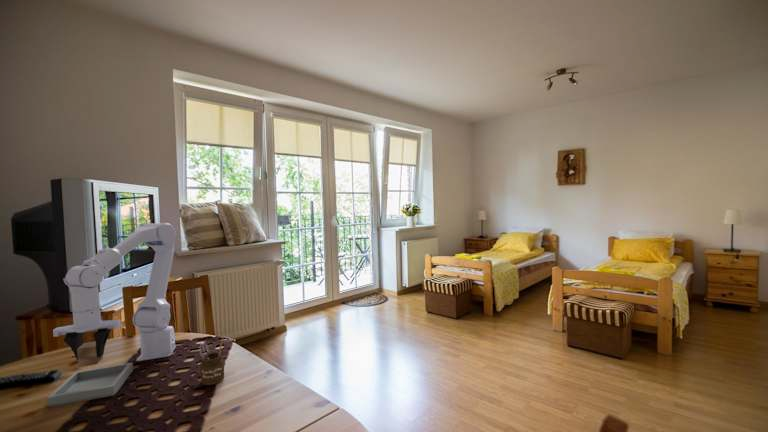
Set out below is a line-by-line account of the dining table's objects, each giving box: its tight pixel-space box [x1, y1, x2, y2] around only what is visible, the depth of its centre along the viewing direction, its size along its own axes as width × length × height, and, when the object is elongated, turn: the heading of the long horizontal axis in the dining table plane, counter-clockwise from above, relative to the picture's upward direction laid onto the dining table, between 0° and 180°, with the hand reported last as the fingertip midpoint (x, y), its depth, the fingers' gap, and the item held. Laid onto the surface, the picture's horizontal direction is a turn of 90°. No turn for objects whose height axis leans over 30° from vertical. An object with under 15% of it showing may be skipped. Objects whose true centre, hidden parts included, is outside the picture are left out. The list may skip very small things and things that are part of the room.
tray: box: [46, 362, 134, 408], centre depth 95 cm, size 14×14×2 cm
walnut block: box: [77, 341, 104, 368], centre depth 95 cm, size 4×4×5 cm
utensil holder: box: [199, 335, 225, 386], centre depth 96 cm, size 6×6×12 cm
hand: (90, 357), depth 95 cm, fingers closed on walnut block, 4 cm apart
